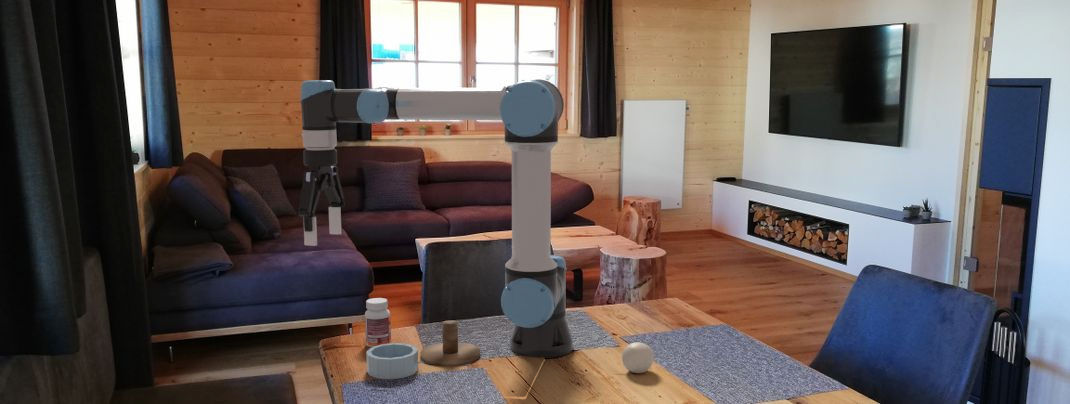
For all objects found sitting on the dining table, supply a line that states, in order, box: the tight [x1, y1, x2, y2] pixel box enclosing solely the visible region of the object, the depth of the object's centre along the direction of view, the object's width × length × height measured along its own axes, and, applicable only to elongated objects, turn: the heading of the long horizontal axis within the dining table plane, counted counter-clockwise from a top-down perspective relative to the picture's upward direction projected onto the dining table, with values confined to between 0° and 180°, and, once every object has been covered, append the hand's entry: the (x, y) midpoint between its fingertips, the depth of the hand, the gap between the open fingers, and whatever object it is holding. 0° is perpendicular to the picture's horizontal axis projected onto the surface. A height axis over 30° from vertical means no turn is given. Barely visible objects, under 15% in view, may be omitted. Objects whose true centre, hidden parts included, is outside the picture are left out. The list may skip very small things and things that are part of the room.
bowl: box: [365, 342, 419, 380], centre depth 191 cm, size 11×11×5 cm
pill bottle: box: [364, 297, 392, 348], centre depth 210 cm, size 6×6×11 cm
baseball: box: [621, 341, 654, 374], centre depth 191 cm, size 7×7×7 cm
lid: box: [420, 319, 481, 367], centre depth 201 cm, size 14×14×8 cm
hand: (323, 239), depth 199 cm, fingers open, 13 cm apart
